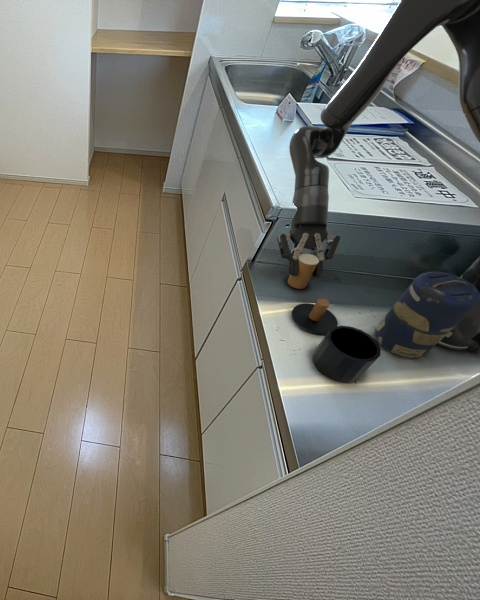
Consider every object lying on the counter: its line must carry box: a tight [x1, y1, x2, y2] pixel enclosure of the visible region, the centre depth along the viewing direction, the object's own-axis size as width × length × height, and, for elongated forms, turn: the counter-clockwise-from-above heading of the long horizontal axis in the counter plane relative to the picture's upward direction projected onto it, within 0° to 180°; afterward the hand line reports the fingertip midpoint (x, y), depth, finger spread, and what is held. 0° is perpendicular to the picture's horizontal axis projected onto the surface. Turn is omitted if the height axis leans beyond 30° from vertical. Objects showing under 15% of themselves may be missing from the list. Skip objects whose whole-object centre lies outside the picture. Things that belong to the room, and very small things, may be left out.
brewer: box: [312, 325, 382, 384], centre depth 70 cm, size 9×9×8 cm
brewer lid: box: [291, 298, 339, 335], centre depth 79 cm, size 9×9×6 cm
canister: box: [374, 271, 480, 358], centre depth 69 cm, size 10×10×18 cm
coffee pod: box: [287, 252, 319, 290], centre depth 87 cm, size 4×4×8 cm
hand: (305, 275), depth 86 cm, fingers closed on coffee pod, 4 cm apart
